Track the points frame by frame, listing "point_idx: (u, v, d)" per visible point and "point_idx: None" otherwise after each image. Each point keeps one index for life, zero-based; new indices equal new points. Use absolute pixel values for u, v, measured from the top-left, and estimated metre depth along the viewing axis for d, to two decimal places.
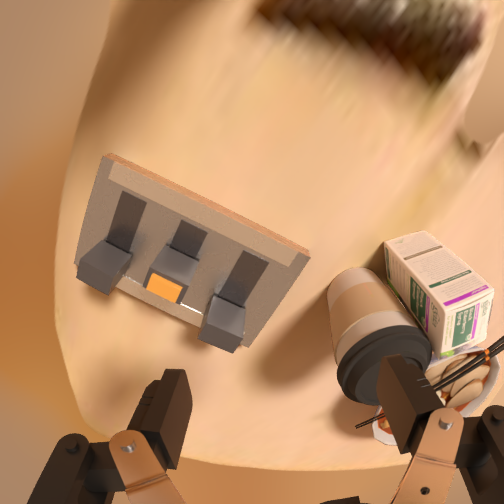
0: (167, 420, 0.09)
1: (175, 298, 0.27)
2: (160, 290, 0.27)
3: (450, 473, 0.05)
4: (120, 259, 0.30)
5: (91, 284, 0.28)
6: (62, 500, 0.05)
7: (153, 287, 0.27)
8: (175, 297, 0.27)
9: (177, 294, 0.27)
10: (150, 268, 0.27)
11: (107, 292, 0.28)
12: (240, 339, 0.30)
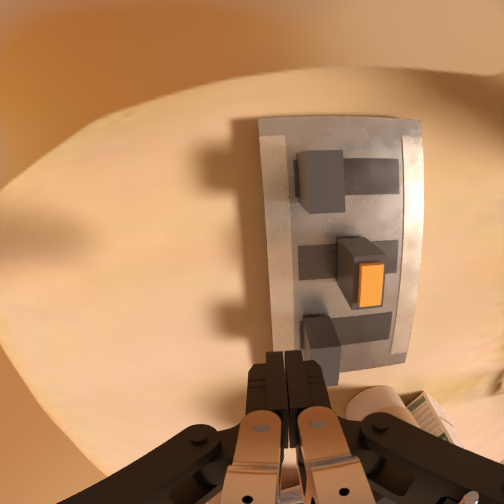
0: (287, 398, 0.10)
1: (367, 304, 0.20)
2: (369, 283, 0.20)
3: (357, 466, 0.06)
4: None
5: (310, 180, 0.19)
6: (153, 487, 0.06)
7: (369, 274, 0.20)
8: (368, 304, 0.20)
9: (373, 304, 0.20)
10: (384, 256, 0.20)
11: (314, 211, 0.19)
12: (335, 384, 0.23)
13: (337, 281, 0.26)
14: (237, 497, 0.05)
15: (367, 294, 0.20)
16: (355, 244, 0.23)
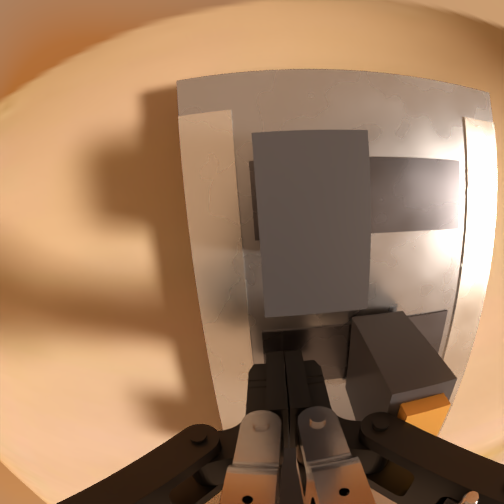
0: (287, 398, 0.10)
1: None
2: None
3: (357, 466, 0.06)
4: None
5: (269, 225, 0.06)
6: (153, 487, 0.06)
7: (418, 424, 0.07)
8: None
9: None
10: (453, 382, 0.07)
11: (279, 310, 0.07)
12: None
13: (346, 384, 0.13)
14: (237, 497, 0.05)
15: None
16: (389, 339, 0.10)
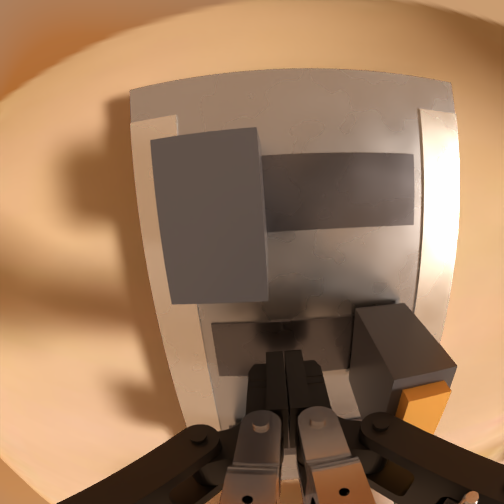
0: (287, 398, 0.10)
1: None
2: (415, 425, 0.08)
3: (357, 466, 0.06)
4: (266, 240, 0.10)
5: (167, 220, 0.07)
6: (153, 487, 0.06)
7: (419, 411, 0.08)
8: None
9: None
10: (453, 369, 0.08)
11: (183, 298, 0.07)
12: None
13: (349, 375, 0.14)
14: (237, 497, 0.05)
15: None
16: (391, 329, 0.11)
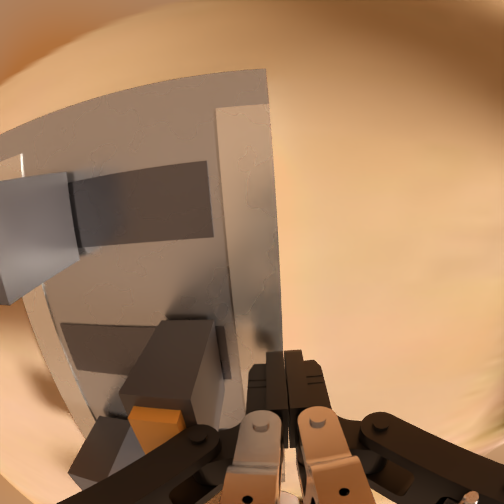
0: (286, 398, 0.10)
1: None
2: (156, 446, 0.08)
3: (357, 466, 0.06)
4: (55, 256, 0.11)
5: None
6: (153, 487, 0.06)
7: (149, 432, 0.08)
8: None
9: None
10: (187, 402, 0.08)
11: None
12: None
13: None
14: (237, 497, 0.05)
15: None
16: (169, 345, 0.11)
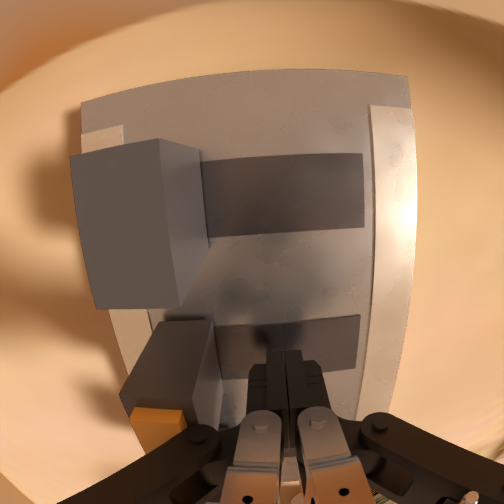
0: (287, 398, 0.10)
1: None
2: (158, 446, 0.08)
3: (357, 466, 0.06)
4: (199, 246, 0.10)
5: (86, 231, 0.07)
6: (153, 487, 0.06)
7: (150, 433, 0.08)
8: None
9: None
10: (189, 401, 0.08)
11: (105, 303, 0.07)
12: None
13: None
14: (237, 497, 0.05)
15: None
16: (168, 346, 0.11)
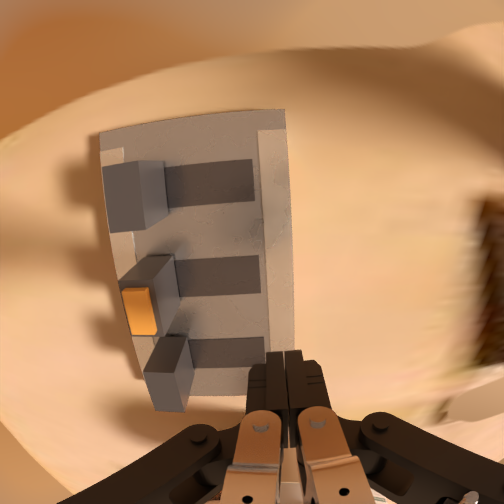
0: (287, 398, 0.10)
1: (138, 332, 0.18)
2: (134, 311, 0.18)
3: (357, 466, 0.06)
4: (160, 209, 0.20)
5: (108, 198, 0.16)
6: (153, 487, 0.06)
7: (131, 300, 0.18)
8: (140, 332, 0.18)
9: (146, 333, 0.18)
10: (151, 281, 0.18)
11: (114, 230, 0.17)
12: (181, 410, 0.21)
13: None
14: (237, 497, 0.05)
15: (135, 322, 0.18)
16: (146, 265, 0.21)
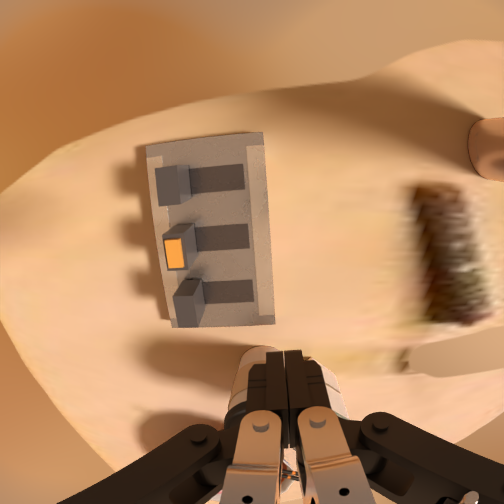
0: (287, 398, 0.10)
1: (173, 266, 0.32)
2: (171, 252, 0.31)
3: (357, 466, 0.06)
4: (187, 194, 0.33)
5: (158, 186, 0.30)
6: (153, 487, 0.06)
7: (170, 245, 0.31)
8: (174, 266, 0.32)
9: (177, 266, 0.32)
10: (182, 234, 0.31)
11: (161, 204, 0.31)
12: (195, 326, 0.34)
13: None
14: (237, 497, 0.05)
15: (171, 259, 0.32)
16: (177, 228, 0.34)
